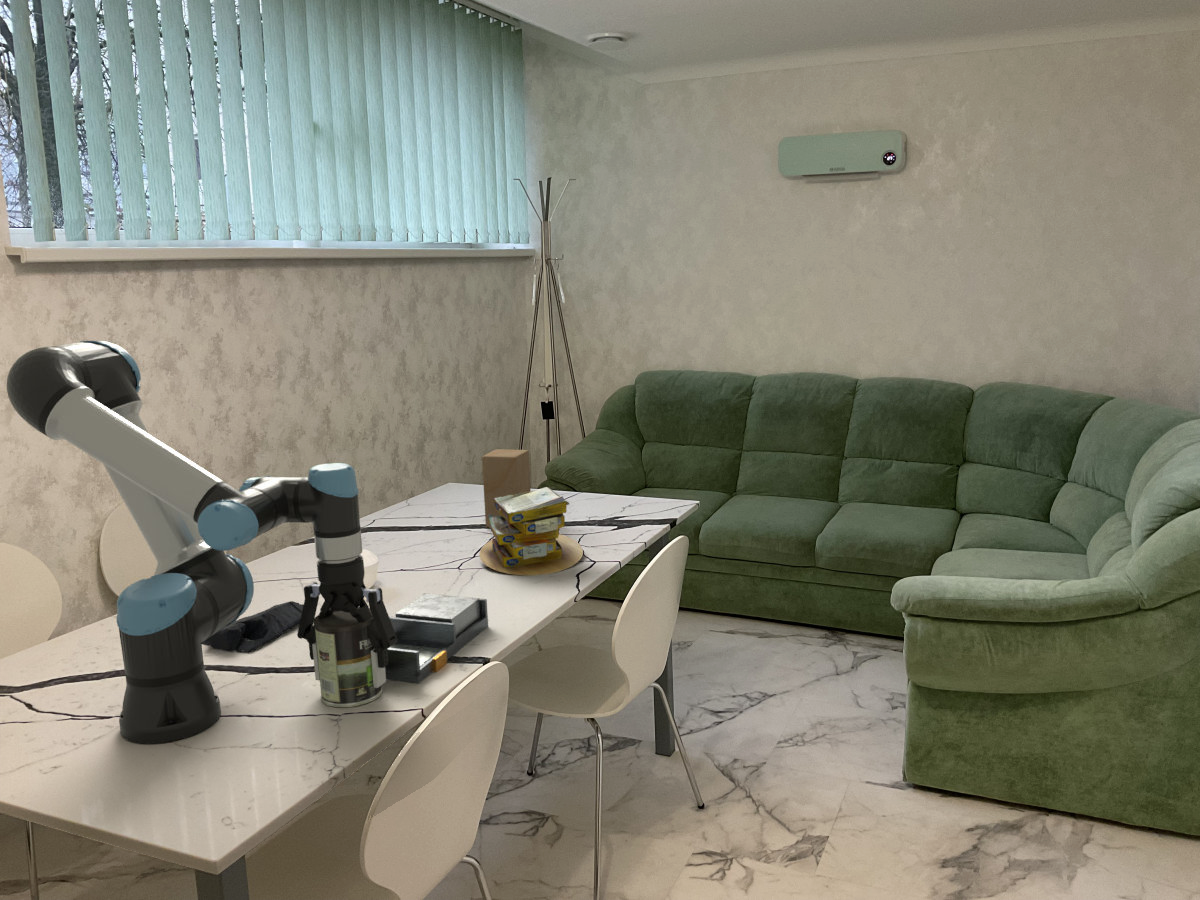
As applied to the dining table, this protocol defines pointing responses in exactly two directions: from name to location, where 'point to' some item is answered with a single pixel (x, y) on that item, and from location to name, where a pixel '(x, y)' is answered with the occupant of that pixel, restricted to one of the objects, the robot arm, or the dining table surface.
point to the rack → (432, 634)
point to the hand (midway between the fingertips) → (350, 680)
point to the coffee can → (345, 660)
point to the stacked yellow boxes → (530, 535)
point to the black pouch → (257, 628)
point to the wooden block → (504, 476)
